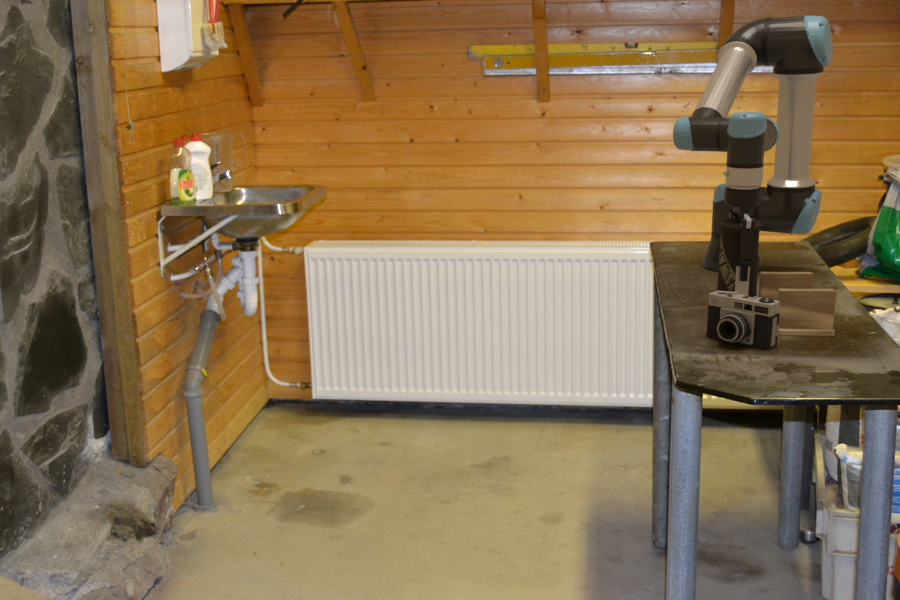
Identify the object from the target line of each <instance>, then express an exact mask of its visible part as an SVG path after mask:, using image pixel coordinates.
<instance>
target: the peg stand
mask: <svg viewBox="0 0 900 600" xmlns="http://www.w3.org/2000/svg"><path fill="white" fill-rule="evenodd" d="M814 276H815V273H813V272H812V271H760V273H759V284H758V285H759V287H758V297H759V298H771V299H773V300H776V301H780V305H779V313H780V314H779V332H778V336H807V337H808V336H811V337H812V336H819V337H820V336H822V337H823V336H826V337H827V336H828V337H829V336H831V337H833V336H836V330H835V329H834V322H835V321H834V320H835V309H836V301H837V300H836V299H837V291H836V290H835V289H834V288H814V278H815V277H814Z"/></svg>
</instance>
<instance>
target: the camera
mask: <svg viewBox="0 0 900 600" xmlns="http://www.w3.org/2000/svg"><path fill="white" fill-rule="evenodd" d="M779 305H780V301H776V300H773V299H771V298H759V295H756V296H755V297H749V295H744V294H741V293H738V292H727V291H719V290H718V291H717V290H715V291H713V292H710V293H708V306H707V323H706V335H705V337H706V338H708V339H712V340H718V341H722V342H726V343H730V344H734V345H739V346H743V347H748V348H753V349H757V348H758V349H759V350H761V349H762V351H767V350H768V351H770V350H773V349H775V348H777V347H778V337H779V334H778V332H779V314H780V313H779ZM758 349H757V350H758Z"/></svg>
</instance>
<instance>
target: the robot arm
mask: <svg viewBox="0 0 900 600" xmlns="http://www.w3.org/2000/svg"><path fill="white" fill-rule="evenodd" d="M832 58H833V35H832V29H831V25H830V22H829V21H828V19H827V17H825V16H822V15H807V14H806V15H795V16H777V17H776V16H775V17H769V16H768V17H760V18H756V19H753V20H751V21H749V22H747V23H745V24H744V25H742V26H741V27H739V28H738V29H736V30H735V31H734V32H733V33H732V34H731V35H729V36H728V37H727V39H725V41H724V42H723V44H722V45H721V46H720V49H719V50H718V53H717V64H716V65H715V67H714V70H713V72H712V74H711V76H710V78H709V80H708V82H707V83H706V86H705V89H704V90H703V92H702V94H701V96H700V99H699V100H698V102H697V105H696V106H695V109H694V110H693V112H692V113H691V116H688V115H687V116H683V117H682V116H681V117H679V118H677V119H676V120H675V122H674V125H673V129H672V140H673V145H674V146H675V148H676V149H677V150H680V151H681V150H682V151H690V152H719V153H720V152H721V153H726V164H725V165H726V170H723V173H722V175H723V176H725V183H720V184H718V185H717V186H716V187H715V188H714V191H713V198H712V199H713V200H712V202H711V203H712V216H711V234H710V235H711V237H710V240H709V243H708V245H707V248H706V249H705V250H706V251H705V253H704V256H703V257H702V267H703V266H704V267H703V268H705V269H707V268H708V269H707V270H710V269H711V270H710V271H713V270H714V272H718V271H719V256H720V243H721V228H720V222H722V221H723V220H725V219H729V218H730V219H733V222H735V223H739V224H741V239H740V238H738V263H735V264H734V265H735V266H736V279H735V292H738V293H741V294H744V295H748V290H749V275H750V266H751V265H753V263H754V262H753V251H754V226H755V220H758V221H759V222H760V223H761V224H762V227H761V229H760V231H759V232H766V233H777V234H788V235H808V234H809V233H810V232H811V231H812V230H813V228H814V226H815V225H816V224H815V223H816V222H817V219H818V215H819V211H820V208H821V204H822V191H821V190H819V189H817V188H816V180H814V179H813V177H811V175H810V172H811V171H810V170H811V160H812V159H811V158H812V157H811V155H812V143H813V129H814V117H815V116H814V114H815V101H816V88H817V87H816V86H817V80H818V78H820V77H821V76H822V75H823V74H824V70H825V67H827V66H830V64H831V63H832V60H833V59H832ZM757 67H773V69H772V71H773V72H772V75H773V76H774V77H775V78H776V79H777V80H778V94H777V95H778V97H777V109H776V111H777V114H776V121H775V120H774V119H772V118H770V117H767V115H766V114H765V113H764V112H760V111H739V112H733V113H731V114H730V116H729V113H730V111H731V109H732V107H733V106H734V104H735V101H736V99H737V97H738V94H739V93H740V90H741V89H742V86H743V84H744V82H745V80H746V78H747V76H748V75H749V74H750V73H752V72H753V71H754V70H755V68H757ZM728 116H729V117H728ZM773 147H774V148H775V149H774V150H775V151H774V164H773V165H774V166H773V175H772V177H770V178H769V179H768V180H766V181H767V182H766V186H762V185H763V179H764V168H765V167H764V162H765V161H764V160H765V159H764V158H765V152H768V151H770V150H771V149H772V148H773ZM744 259H747V260H744ZM761 269H762V258H761V254H760V251H759V249H758V269H757V272H759V271H760V270H761Z"/></svg>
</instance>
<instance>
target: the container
mask: <svg viewBox="0 0 900 600" xmlns="http://www.w3.org/2000/svg"><path fill="white" fill-rule="evenodd" d="M761 227H762V224H761V223H760V222H759V221H758V220H755V226H754V251H753V262H754V263H753V265H751V266H750V275H749V290H748V295H749V297H755V296H757V288H758V285H757V284H758V271H757V269H758V250H759V246H760V241H759V240H760V232H761V231H760V229H761ZM720 228H721V243H720V256H719V271H717V272H718V273H717V285H716V287H717V288H716V291H718V290H719V291H727V292H735V279H736V266H735V265H734V264H735V263H738V238H740V239H741V224H739V223H735V222H733V219H730V218H729V219H725V220H723V221H722V222H720ZM744 260H747V259H744Z"/></svg>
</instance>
